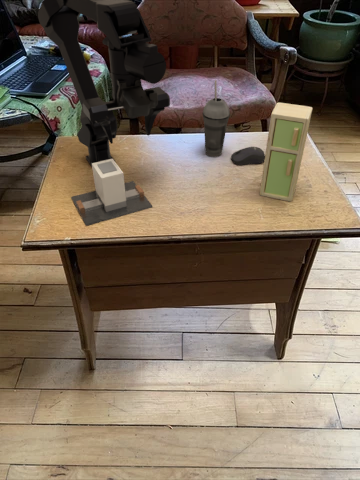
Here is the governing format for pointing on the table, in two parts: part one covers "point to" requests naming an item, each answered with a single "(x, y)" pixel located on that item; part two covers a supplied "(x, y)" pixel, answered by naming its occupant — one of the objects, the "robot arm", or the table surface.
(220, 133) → the beverage cup
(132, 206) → the rail
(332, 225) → the table surface
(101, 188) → the rail module
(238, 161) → the computer mouse
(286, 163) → the toy refrigerator
